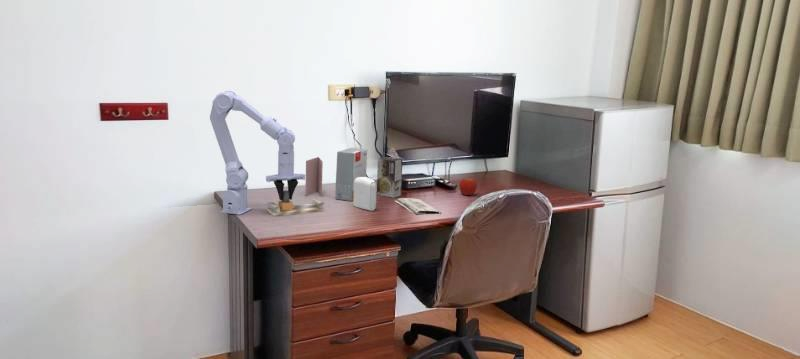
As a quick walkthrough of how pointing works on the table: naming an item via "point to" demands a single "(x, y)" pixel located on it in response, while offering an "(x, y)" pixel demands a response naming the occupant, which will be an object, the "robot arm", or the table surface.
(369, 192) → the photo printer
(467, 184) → the apple
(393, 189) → the coffee box
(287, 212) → the rail
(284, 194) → the carriage
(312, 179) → the greeting card
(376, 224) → the table surface
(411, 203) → the newspaper
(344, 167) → the hard drive box
